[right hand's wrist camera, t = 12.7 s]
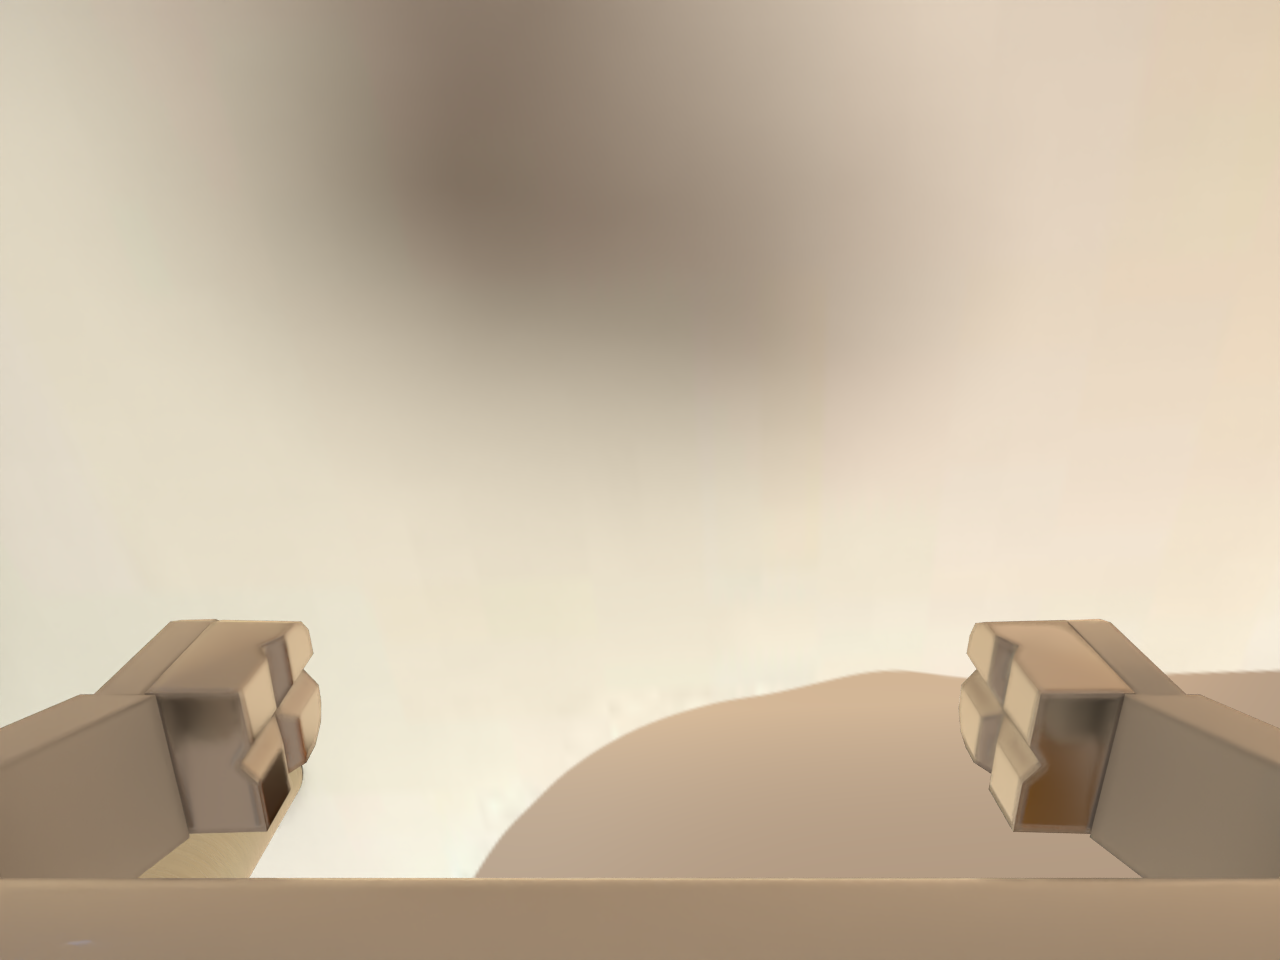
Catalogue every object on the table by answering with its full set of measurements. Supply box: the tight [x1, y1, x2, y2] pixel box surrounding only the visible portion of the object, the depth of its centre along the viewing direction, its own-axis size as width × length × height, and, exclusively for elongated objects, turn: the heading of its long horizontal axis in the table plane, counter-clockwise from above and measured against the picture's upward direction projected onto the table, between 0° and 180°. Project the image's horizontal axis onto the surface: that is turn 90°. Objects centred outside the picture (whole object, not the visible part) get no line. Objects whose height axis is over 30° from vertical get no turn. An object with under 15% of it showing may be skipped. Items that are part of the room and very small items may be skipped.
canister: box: [138, 766, 303, 878], centre depth 38 cm, size 5×5×10 cm
